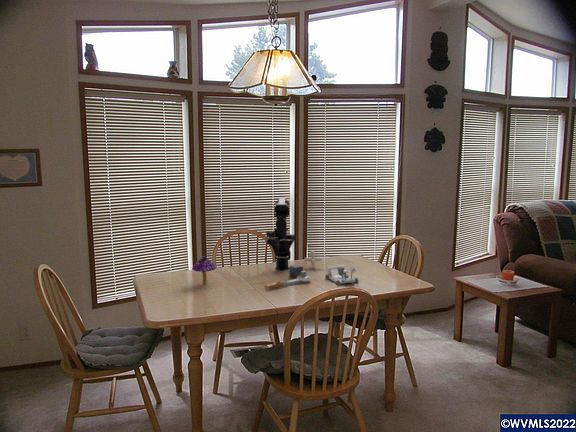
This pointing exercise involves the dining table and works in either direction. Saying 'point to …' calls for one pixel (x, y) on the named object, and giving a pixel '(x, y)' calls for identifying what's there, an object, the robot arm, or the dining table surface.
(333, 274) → the toy car
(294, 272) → the dark grey block
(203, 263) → the purple mushroom
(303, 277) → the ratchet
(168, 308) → the dining table surface
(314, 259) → the pipe connector
